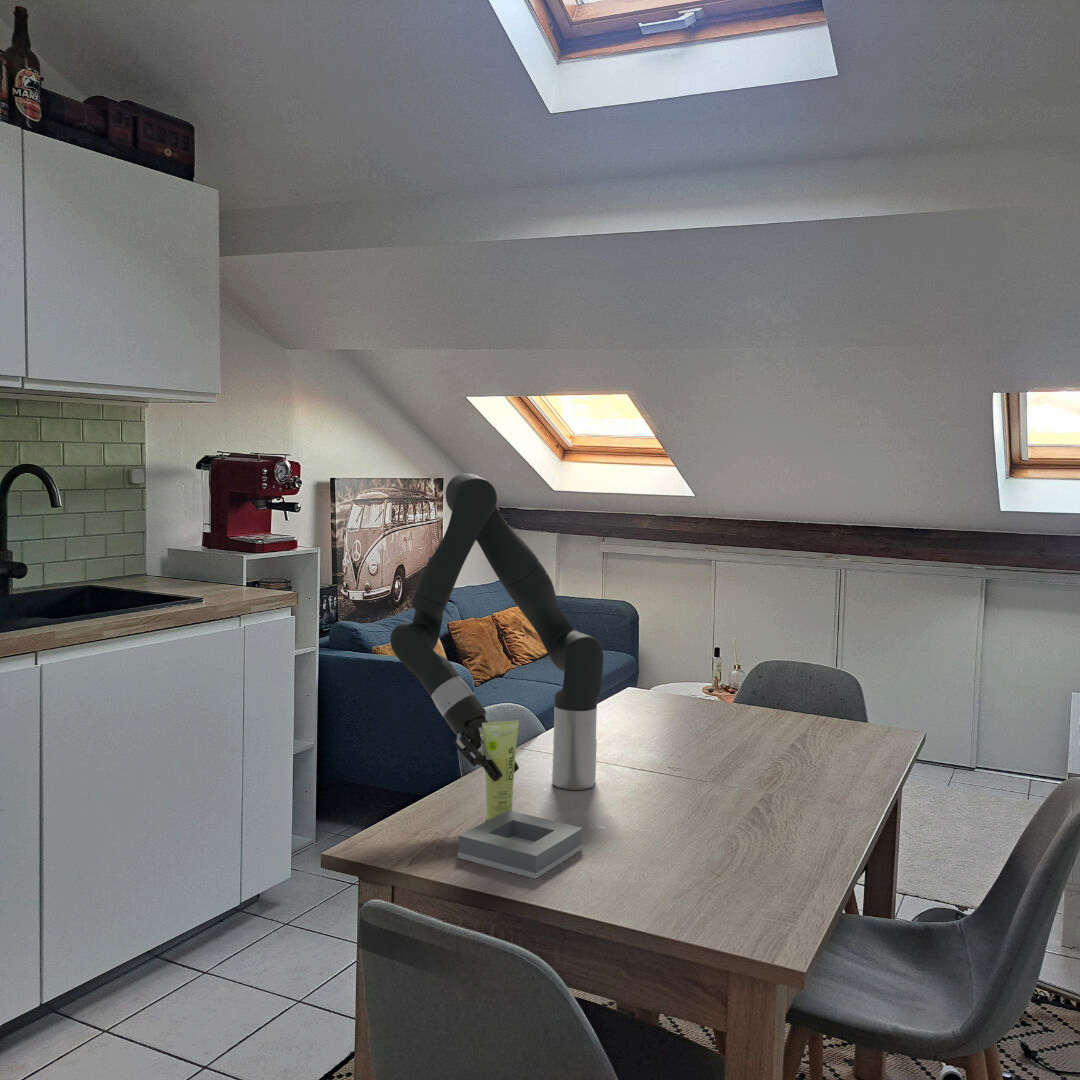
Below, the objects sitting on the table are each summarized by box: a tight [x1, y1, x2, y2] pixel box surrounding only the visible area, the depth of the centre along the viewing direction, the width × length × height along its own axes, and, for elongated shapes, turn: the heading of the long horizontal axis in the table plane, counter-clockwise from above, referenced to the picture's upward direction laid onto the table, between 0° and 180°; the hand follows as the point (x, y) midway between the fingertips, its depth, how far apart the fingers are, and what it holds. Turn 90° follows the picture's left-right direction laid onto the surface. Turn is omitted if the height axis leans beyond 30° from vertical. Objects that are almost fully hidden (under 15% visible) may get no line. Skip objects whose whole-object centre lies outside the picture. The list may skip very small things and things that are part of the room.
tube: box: [482, 719, 520, 821], centre depth 194 cm, size 6×5×20 cm
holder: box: [457, 810, 584, 880], centre depth 178 cm, size 16×16×4 cm
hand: (507, 774), depth 193 cm, fingers closed on tube, 5 cm apart
